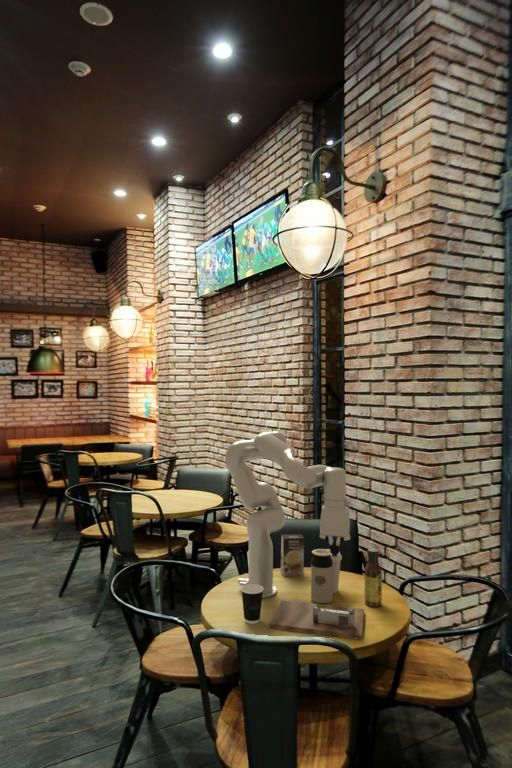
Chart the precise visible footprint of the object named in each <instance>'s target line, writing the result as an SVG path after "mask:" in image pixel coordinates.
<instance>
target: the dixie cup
mask: <svg viewBox="0 0 512 768" xmlns="http://www.w3.org/2000/svg"><path fill="white" fill-rule="evenodd" d="M263 590H264V588H263V587H262V586H260V585H256V584H248V585H244V586H241V587H240V591H241V599H242V610H243V618H244V622H245V623H247V624H251V625H255V624H258V623H260V618H261V611H262V603H263V602H262V601H263V598H262V594H263Z"/></svg>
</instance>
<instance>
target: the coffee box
mask: <svg viewBox="0 0 512 768" xmlns="http://www.w3.org/2000/svg"><path fill="white" fill-rule="evenodd" d="M280 537H281V540H280V542H281V543H280V545H281V546H280V573H281V575H282V576H283V577H298V576H300V577H301V576H304V567H305V566H304V563H305V561H304V560H305V557H304V556H305V555H304V554H305V538H304V536H303V535H302V534H281V536H280Z"/></svg>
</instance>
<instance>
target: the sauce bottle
mask: <svg viewBox="0 0 512 768" xmlns="http://www.w3.org/2000/svg"><path fill="white" fill-rule="evenodd" d="M379 554H380V553H379V550H378V548H377V549H376V548H368V549H367V563H366V565H365V568H364V603H365V605H366V606H368V607H374V608H375V607H376V608H377V607H380V606H381V605H382V600H383V591H382V590H383V588H382V587H383V584H382V583H383V579H382V578H383V576H382V573H383V572H382V569H381V566H380V563H379Z"/></svg>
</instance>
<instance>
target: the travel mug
mask: <svg viewBox="0 0 512 768" xmlns="http://www.w3.org/2000/svg"><path fill="white" fill-rule="evenodd" d="M311 553H312V557H311V559H310V568H311V569H310V572H311V573H310V599H311V601H313V603H314V602H315V603H316V604H328V603H330V602H332V601H333V593H332V559H331V554H332V553H330V551H329V550H326V548H317V549H313V550H311Z"/></svg>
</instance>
